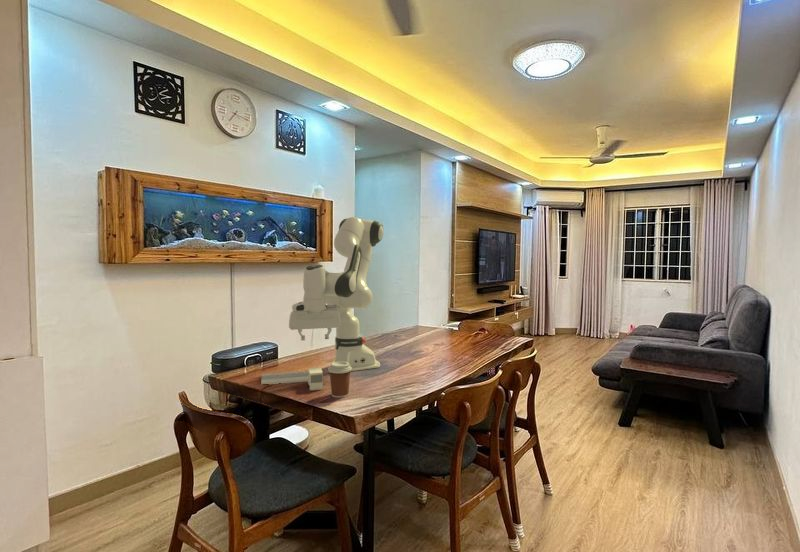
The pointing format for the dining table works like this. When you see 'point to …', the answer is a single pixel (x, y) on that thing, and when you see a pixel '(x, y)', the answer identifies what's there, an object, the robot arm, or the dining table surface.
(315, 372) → the block
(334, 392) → the coffee cup
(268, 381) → the rail plate
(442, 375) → the dining table surface
